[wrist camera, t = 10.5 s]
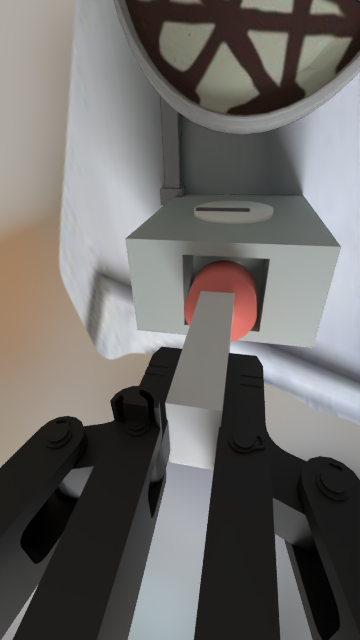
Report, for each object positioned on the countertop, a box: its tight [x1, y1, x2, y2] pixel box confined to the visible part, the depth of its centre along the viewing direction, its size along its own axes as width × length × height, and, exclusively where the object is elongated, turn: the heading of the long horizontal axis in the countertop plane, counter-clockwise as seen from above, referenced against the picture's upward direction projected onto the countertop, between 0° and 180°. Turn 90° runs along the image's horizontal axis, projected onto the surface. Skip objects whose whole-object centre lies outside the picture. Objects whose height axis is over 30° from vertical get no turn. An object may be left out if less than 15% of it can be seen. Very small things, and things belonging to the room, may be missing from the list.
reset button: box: [184, 260, 257, 342], centre depth 15 cm, size 3×3×2 cm
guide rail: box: [160, 96, 185, 205], centre depth 20 cm, size 2×17×1 cm, turn 2°
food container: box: [114, 0, 360, 134], centre depth 15 cm, size 12×6×10 cm, turn 65°
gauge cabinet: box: [126, 194, 341, 348], centre depth 20 cm, size 10×6×12 cm, turn 92°
